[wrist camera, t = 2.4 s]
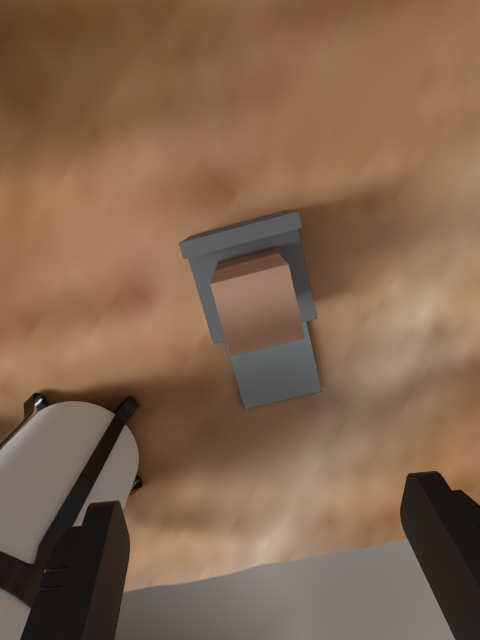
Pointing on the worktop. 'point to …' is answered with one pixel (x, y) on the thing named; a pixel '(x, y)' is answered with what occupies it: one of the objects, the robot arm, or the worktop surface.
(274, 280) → the wooden blank
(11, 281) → the worktop surface
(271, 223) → the charcoal shelf
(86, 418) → the coffee press
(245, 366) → the slate-grey mat
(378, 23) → the worktop surface
